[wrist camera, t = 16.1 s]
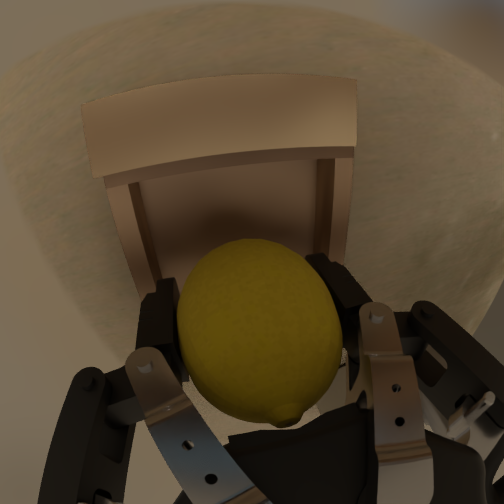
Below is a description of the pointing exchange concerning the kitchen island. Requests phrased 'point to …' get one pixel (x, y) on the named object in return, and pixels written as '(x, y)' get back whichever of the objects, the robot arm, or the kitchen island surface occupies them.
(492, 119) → the kitchen island surface
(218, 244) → the walnut tray
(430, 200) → the kitchen island surface
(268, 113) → the oak stop
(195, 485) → the robot arm
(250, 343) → the lemon
